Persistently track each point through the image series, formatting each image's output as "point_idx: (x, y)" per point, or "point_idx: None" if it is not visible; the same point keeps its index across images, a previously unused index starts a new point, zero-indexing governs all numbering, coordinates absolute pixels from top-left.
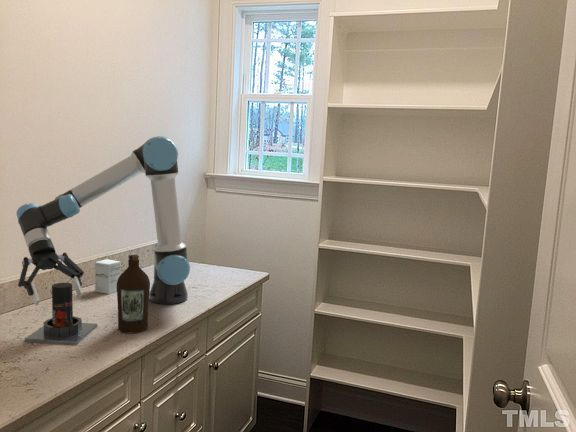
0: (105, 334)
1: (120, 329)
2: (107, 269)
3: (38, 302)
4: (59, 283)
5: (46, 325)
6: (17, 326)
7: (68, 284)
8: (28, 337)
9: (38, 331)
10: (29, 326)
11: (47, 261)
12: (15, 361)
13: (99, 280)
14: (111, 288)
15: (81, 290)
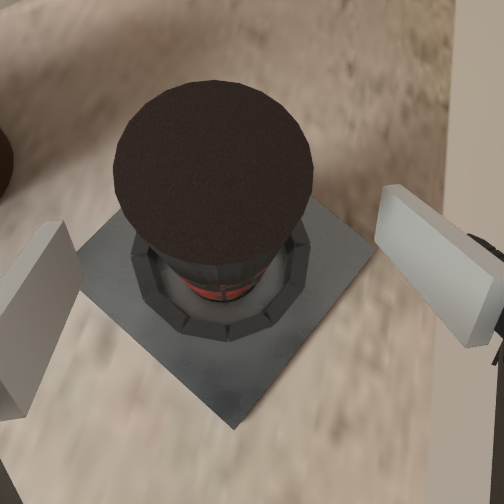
0: (80, 165)
1: (8, 154)
2: None
3: (382, 209)
4: (219, 245)
5: (301, 237)
6: (372, 471)
7: (152, 159)
8: (362, 253)
9: (314, 304)
10: (324, 441)
11: None
12: (419, 96)
13: None
14: None
15: (40, 233)
